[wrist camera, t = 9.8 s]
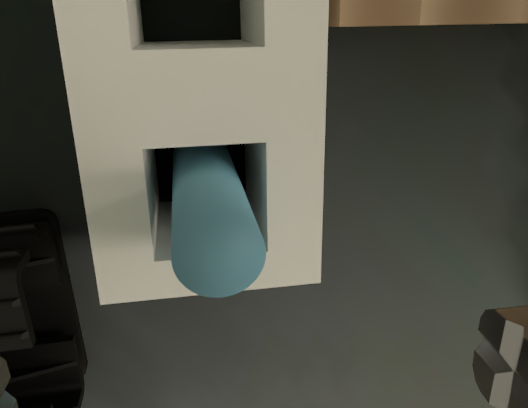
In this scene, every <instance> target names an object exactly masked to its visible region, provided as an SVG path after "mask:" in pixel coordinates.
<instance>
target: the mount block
mask: <svg viewBox="0 0 528 408" xmlns="http://www.w3.org/2000/svg"><path fill="white" fill-rule="evenodd" d="M510 23H528V0H329V18H328V26H330V27H360V26H410V25H460V24H510Z"/></svg>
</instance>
